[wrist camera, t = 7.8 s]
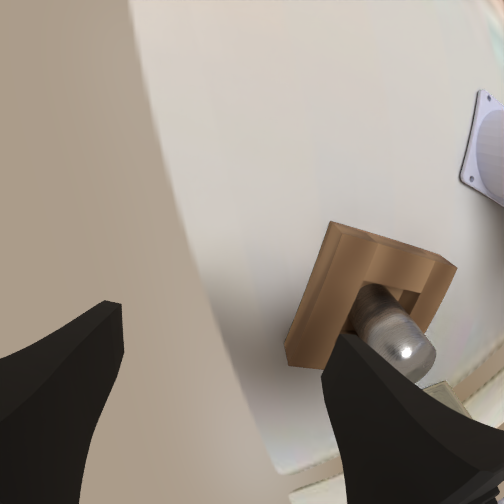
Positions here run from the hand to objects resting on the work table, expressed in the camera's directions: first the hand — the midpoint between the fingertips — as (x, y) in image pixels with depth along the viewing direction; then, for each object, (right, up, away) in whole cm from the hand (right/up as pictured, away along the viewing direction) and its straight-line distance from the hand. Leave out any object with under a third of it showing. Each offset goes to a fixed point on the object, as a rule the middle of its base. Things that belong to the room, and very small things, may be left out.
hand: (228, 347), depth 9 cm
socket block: (+9, -1, +12) cm, 15 cm away
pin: (+9, -1, +12) cm, 15 cm away
